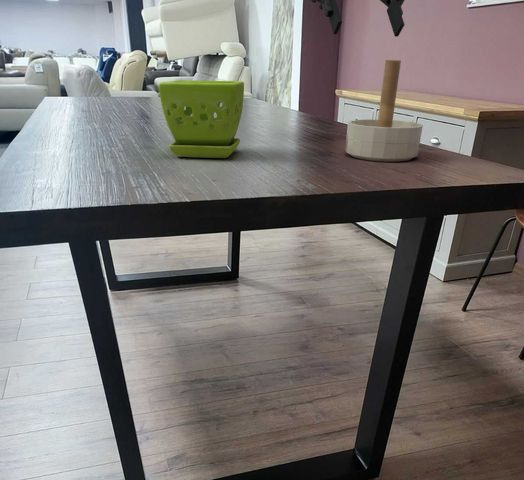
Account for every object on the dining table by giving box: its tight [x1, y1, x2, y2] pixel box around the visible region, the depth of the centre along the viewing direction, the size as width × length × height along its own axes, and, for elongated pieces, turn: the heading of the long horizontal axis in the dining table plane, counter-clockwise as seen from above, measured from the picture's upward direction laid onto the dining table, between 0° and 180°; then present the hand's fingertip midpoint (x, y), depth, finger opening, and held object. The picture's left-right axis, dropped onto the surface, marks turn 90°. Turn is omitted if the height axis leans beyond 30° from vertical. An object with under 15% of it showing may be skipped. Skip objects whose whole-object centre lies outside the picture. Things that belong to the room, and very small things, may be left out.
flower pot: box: [158, 80, 245, 159], centre depth 93 cm, size 14×14×13 cm
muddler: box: [377, 59, 402, 127], centre depth 94 cm, size 5×5×16 cm
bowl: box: [344, 118, 424, 162], centre depth 97 cm, size 14×14×6 cm
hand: (369, 29), depth 96 cm, fingers open, 13 cm apart
